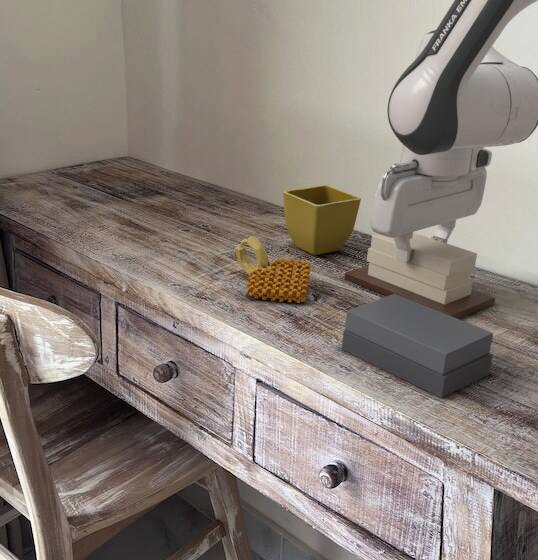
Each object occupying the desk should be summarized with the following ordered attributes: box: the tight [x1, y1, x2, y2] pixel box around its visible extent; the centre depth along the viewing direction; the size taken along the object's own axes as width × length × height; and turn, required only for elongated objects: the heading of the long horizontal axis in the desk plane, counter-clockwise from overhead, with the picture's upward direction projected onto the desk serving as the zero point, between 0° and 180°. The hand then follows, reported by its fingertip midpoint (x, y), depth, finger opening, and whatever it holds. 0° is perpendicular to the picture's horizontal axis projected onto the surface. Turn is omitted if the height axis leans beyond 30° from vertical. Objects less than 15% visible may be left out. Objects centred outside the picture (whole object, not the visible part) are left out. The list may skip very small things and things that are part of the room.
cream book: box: [370, 232, 478, 276], centre depth 111 cm, size 13×6×2 cm, turn 40°
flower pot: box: [282, 184, 362, 256], centre depth 126 cm, size 9×9×9 cm
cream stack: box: [344, 247, 496, 320], centre depth 112 cm, size 18×10×5 cm, turn 40°
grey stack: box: [341, 294, 494, 399], centre depth 92 cm, size 14×9×5 cm, turn 40°
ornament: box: [234, 235, 312, 304], centre depth 112 cm, size 7×10×15 cm
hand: (421, 255), depth 111 cm, fingers closed on cream book, 6 cm apart
